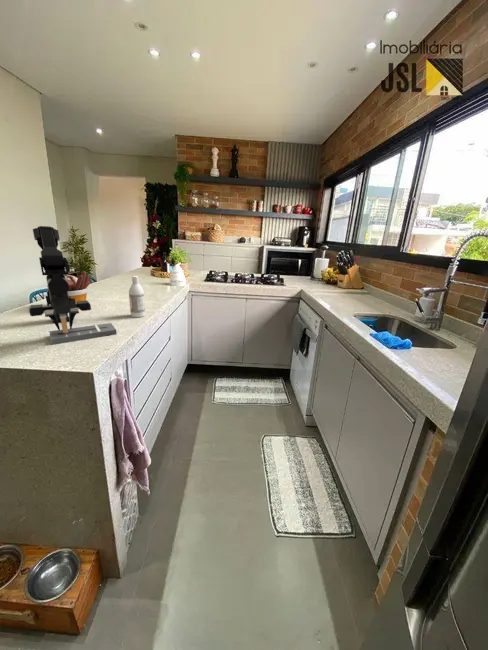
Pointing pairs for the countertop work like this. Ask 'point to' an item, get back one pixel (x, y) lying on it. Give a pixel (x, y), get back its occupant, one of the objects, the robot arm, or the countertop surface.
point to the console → (82, 333)
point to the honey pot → (177, 276)
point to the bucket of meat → (78, 286)
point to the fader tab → (64, 323)
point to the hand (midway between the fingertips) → (65, 329)
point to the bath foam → (136, 298)
